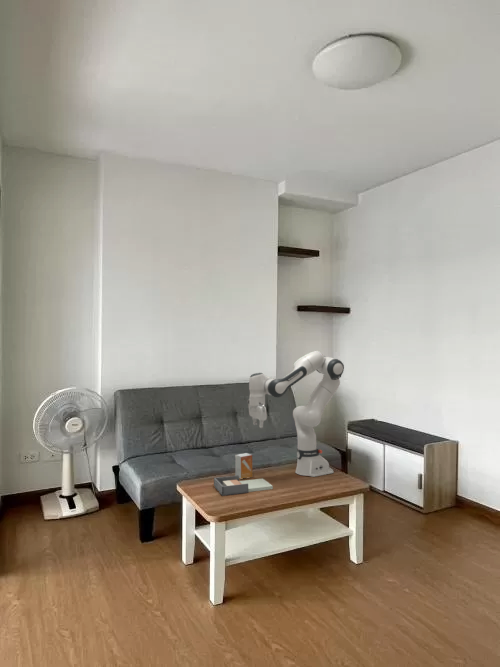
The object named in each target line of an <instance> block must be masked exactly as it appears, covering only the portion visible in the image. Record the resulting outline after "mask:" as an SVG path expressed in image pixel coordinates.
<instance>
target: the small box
mask: <svg viewBox="0 0 500 667" xmlns="http://www.w3.org/2000/svg"><path fill="white" fill-rule="evenodd" d="M234 456H235V457H234V459H235V462H234V463H235V464H234V467H235V473H234V475H239V478H246V479H248V478H247V477H252V478H253V454H251V453H248V452H245V453H238V454H235V455H234Z"/></svg>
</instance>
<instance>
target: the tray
mask: <svg viewBox="0 0 500 667" xmlns="http://www.w3.org/2000/svg"><path fill="white" fill-rule="evenodd" d="M228 480H238V481H240V479H239V475H235V474H234V475H226V476H218V477H213V487H214V486H215V487H214V488H215V490H217V491H219V492H218V493H219V494H220V495H221V496H222V497H223V496H224V497H225V496H227V497H228V496H234V495H242V494H248V493H249V492H248V483H247V484H239V485H230V486H223V481H228Z"/></svg>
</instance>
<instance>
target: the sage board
mask: <svg viewBox="0 0 500 667" xmlns="http://www.w3.org/2000/svg"><path fill="white" fill-rule="evenodd" d="M239 482H240V483H241V484H247V483H248V493H251V492H258V491H260V492H261V491H266V490H267V491H268V490H273V488H274V485H272V484H271V483H270V482H269V481H267V480H266V479H265V478H263V477H262V478H256V479H247V480H246V479H244V480H239Z"/></svg>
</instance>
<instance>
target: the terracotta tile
mask: <svg viewBox="0 0 500 667" xmlns="http://www.w3.org/2000/svg"><path fill="white" fill-rule="evenodd" d="M230 481H231V482H232V483H233V484H234V485H239V484H241V483H240V482H239V481H240V480H239V481H238V480H230Z"/></svg>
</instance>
